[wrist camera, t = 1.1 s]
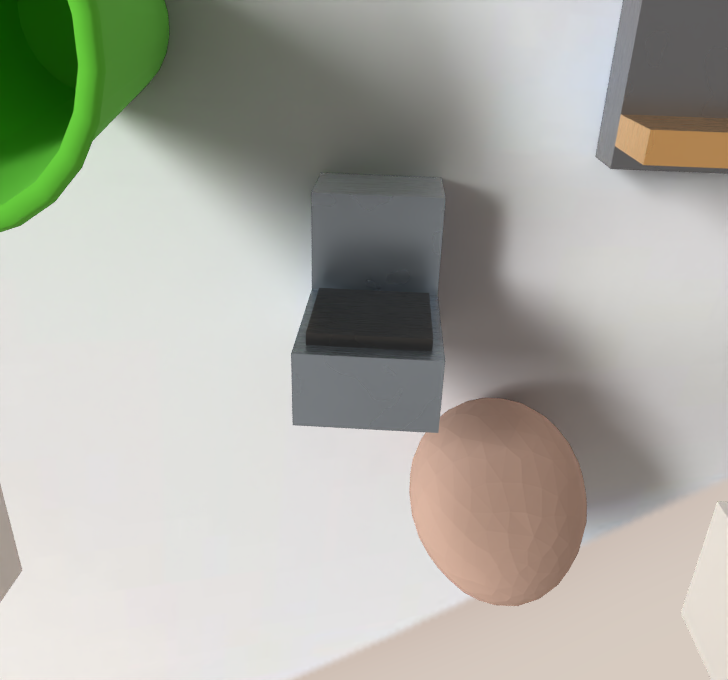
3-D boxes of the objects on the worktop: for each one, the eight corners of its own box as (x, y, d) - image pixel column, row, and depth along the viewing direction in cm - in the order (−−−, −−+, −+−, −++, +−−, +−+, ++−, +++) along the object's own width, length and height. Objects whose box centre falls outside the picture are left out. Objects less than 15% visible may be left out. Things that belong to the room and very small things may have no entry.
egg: (394, 473, 31) (390, 638, 23) (428, 349, 28) (437, 487, 20) (533, 500, 32) (577, 673, 23) (581, 380, 29) (651, 529, 21)
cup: (252, -86, 22) (128, -159, 12) (200, 182, 26) (74, 292, 16) (-28, -183, 21) (-406, -346, 11) (-37, 108, 25) (-323, 175, 15)
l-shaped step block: (321, 172, 25) (288, 239, 18) (441, 177, 25) (455, 246, 18) (321, 317, 28) (292, 425, 21) (429, 323, 28) (438, 433, 21)
